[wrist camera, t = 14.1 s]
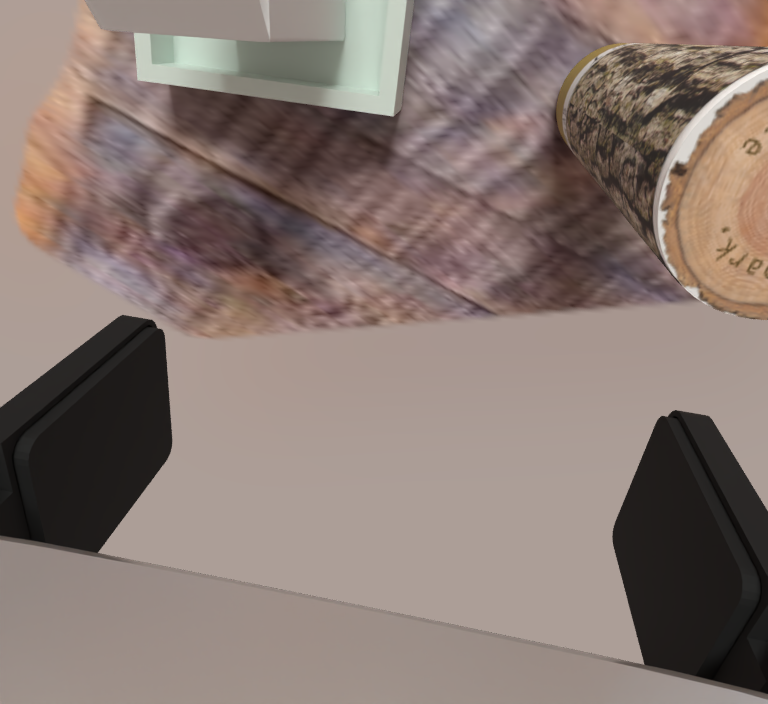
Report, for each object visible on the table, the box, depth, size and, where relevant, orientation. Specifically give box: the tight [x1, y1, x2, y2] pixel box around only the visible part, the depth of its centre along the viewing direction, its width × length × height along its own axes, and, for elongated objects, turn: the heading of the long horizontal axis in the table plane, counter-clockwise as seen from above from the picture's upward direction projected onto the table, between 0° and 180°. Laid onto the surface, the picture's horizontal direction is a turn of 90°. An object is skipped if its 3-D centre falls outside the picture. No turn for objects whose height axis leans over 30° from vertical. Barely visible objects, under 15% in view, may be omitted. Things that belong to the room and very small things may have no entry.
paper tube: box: [556, 43, 768, 320], centre depth 26 cm, size 7×7×25 cm
